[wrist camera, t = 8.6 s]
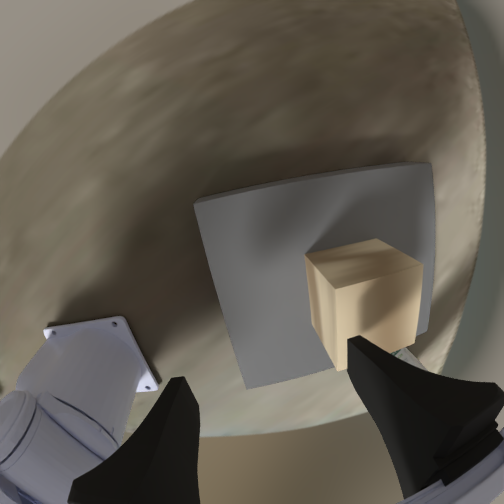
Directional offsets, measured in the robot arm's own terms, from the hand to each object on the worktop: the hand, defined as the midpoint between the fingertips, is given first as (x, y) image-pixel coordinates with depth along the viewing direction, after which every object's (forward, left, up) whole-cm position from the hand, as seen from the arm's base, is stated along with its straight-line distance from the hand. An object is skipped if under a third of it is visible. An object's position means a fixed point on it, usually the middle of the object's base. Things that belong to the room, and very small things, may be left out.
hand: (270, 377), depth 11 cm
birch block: (+6, 0, -6) cm, 9 cm away
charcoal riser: (+6, 0, -9) cm, 11 cm away
